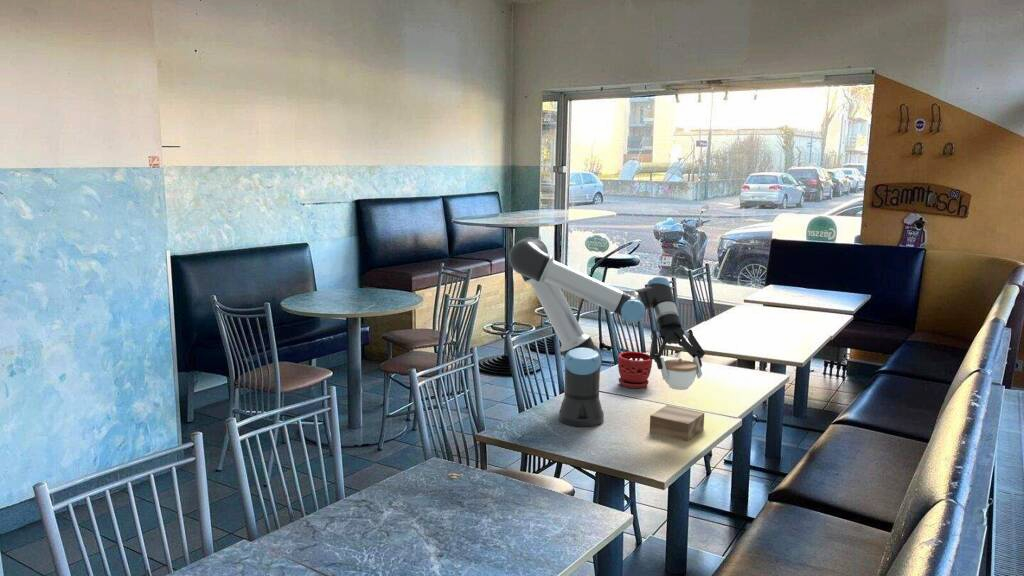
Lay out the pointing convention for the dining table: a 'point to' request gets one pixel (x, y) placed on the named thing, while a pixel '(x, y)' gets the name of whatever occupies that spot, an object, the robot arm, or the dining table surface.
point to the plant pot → (634, 369)
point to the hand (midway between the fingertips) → (682, 377)
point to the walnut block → (677, 422)
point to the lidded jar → (680, 373)
